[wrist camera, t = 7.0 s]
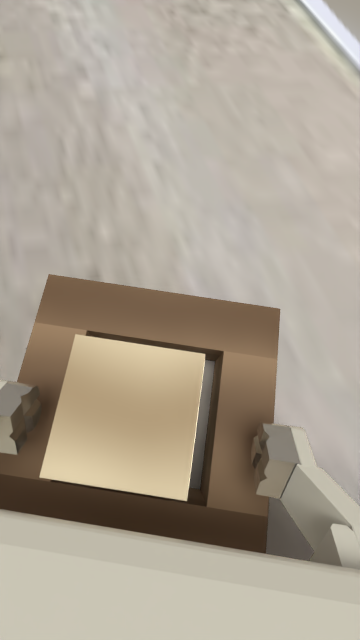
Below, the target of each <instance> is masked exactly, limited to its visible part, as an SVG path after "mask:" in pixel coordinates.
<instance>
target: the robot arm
mask: <svg viewBox="0 0 360 640" xmlns="http://www.w3.org/2000/svg"><path fill="white" fill-rule="evenodd" d="M39 395H40V392H39V387H37V386H34V385H29V384H23V383H18V382H13V381H6V380H0V453H8V454H15V455H17V454H18V453H19V451H20V450H21V448H22V447H23V445H24V444H25V442H26V441H27V433H28V432H30V431H32V430H33V429H34V428H35V427H36V425H37V424H38V421H39V419H40V416H41V409H42V408H41V403H40V402H39V401H38V399H37V398H38V396H39ZM257 433H258V435H257V436H256V437H254V439H253V443H252V448H251V462H252V465H253V467H254V468H255V469H256V470H255V473H254V476H253V478H254V485H255V493H256V494H258V495H263V496H268V497H273V498H278V499H280V501H281V502H282V504H283V505H284V507H285V508H286V510H287V511H288V513H289V514H290V516H291V517H292V519H293V520H294V522H295V523H296V525H297V526H298V528H299V529H300V531H301V532H302V534H303V535H304V537H305V538H306V540H307V542H308V543H309V545H310V546H311V548H312V549H313V551H314V554H313V555H312V557H311V558H310V560H309V561H305V560H299V559H293V558H288V557H282V556H276V555H270V554H264V553H258V552H252V551H246V550H240V549H234V548H228V547H222V546H217V545H211V544H205V543H199V542H193V541H187V540H181V539H175V538H169V537H163V536H157V535H151V534H145V533H139V532H133V531H127V530H121V529H115V528H110V527H104V526H98V525H92V524H86V523H80V522H74V521H68V520H62V519H56V518H50V517H45V516H39V515H33V514H27V513H21V512H15V511H9V510H3V509H0V640H360V506H359V505H358V504H357V503H356V502H355V501H354V500H353V499H352V498H351V497H350V496H349V495H348V494H347V493H346V492H345V491H344V490H343V489H342V488H341V487H340V486H339V485H338V484H337V483H336V482H335V481H334V480H333V479H332V478H331V477H330V476H329V475H328V474H327V473H326V472H325V471H324V470H323V469H322V468H318V467H317V464H316V462H315V459H314V456H313V453H312V450H311V447H310V444H309V441H308V438H307V435H306V432H305V430H304V429H303V428H301V427H294V426H287V425H280V424H274V423H267V422H260V423H259V425H258V427H257Z"/></svg>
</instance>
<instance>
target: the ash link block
mask: <svg viewBox="0 0 360 640" xmlns="http://www.w3.org/2000/svg"><path fill="white" fill-rule="evenodd" d="M204 363H205V354H202V353H195V352H189V351H182V350H176V349H169V348H162V347H156V346H149V345H143V344H136V343H130V342H123V341H117V340H110V339H103V338H97V337H90V336H84V335H77V334H75V338H74V342H73V346H72V350H71V354H70V358H69V362H68V366H67V370H66V374H65V378H64V382H63V386H62V390H61V394H60V397H59V401H58V405H57V409H56V413H55V417H54V421H53V425H52V429H51V433H50V437H49V441H48V445H47V449H46V453H45V457H44V461H43V465H42V468H41V472H40V476H39V477H40V478H46V479H52V480H59V481H65V482H71V483H77V484H84V485H90V486H96V487H102V488H109V489H115V490H121V491H127V492H134V493H140V494H146V495H152V496H159V497H165V498H171V499H177V500H184V501H187V497H188V490H189V482H190V474H191V466H192V458H193V450H194V442H195V434H196V426H197V418H198V410H199V403H200V395H201V387H202V379H203V371H204Z"/></svg>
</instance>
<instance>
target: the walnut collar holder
mask: <svg viewBox="0 0 360 640" xmlns="http://www.w3.org/2000/svg"><path fill="white" fill-rule="evenodd" d="M279 321H280V309H278V308H271V307H265V306H258V305H251V304H244V303H238V302H231V301H224V300H218V299H211V298H204V297H198V296H191V295H184V294H178V293H171V292H164V291H157V290H151V289H144V288H137V287H131V286H124V285H117V284H111V283H104V282H97V281H90V280H84V279H77V278H70V277H64V276H57V275H50V274H49V275H48V279H47V282H46V286H45V289H44V292H43V296H42V299H41V302H40V306H39V309H38V313H37V316H36V319H35V323H34V326H33V329H32V333H31V336H30V340H29V343H28V346H27V350H26V353H25V357H24V360H23V363H22V367H21V370H20V373H19V377H18V380H17V382H18V383H23V384H29V385H34V386H37V387H39V392H40V395H39V396H38V398H37V399H38V401H39V402H40V403H41V408H42V409H41V416H40V419H39V421H38V424H37V425H36V427H35V428H34V429H33V430H32V431H30V432H28V433H27V441H26V442H25V444H24V445H23V447H22V448H21V450H20V451H19V453H18V454H17V455H15V454H8V453H0V509H3V510H9V511H15V512H21V513H27V514H33V515H39V516H45V517H50V518H56V519H62V520H68V521H74V522H80V523H86V524H92V525H98V526H104V527H110V528H115V529H121V530H127V531H133V532H139V533H145V534H151V535H157V536H163V537H169V538H175V539H181V540H187V541H193V542H199V543H205V544H211V545H217V546H222V547H228V548H234V549H240V550H246V551H252V552H258V553H264V554H266V541H267V524H268V507H269V497H268V496H263V495H258V494H256V493H255V485H254V478H253V476H254V473H255V470H256V469H255V468H254V467H253V465H252V462H251V448H252V443H253V439H254V437H256V436H257V435H258V433H257V427H258V425H259V423H260V422H267V423H274V406H275V389H276V372H277V355H278V338H279ZM75 334H77V335H84V336H90V337H97V338H103V339H110V340H117V341H123V342H130V343H136V344H143V345H149V346H156V347H162V348H169V349H176V350H182V351H189V352H195V353H202V354H205V360H210V361H215V368H214V376H213V385H212V393H211V402H210V410H209V419H208V428H207V436H206V445H205V453H204V462H203V470H202V479H201V487H200V489H194V488H189V490H188V497H187V501H184V500H177V499H171V498H165V497H159V496H152V495H146V494H140V493H134V492H127V491H121V490H115V489H109V488H102V487H96V486H90V485H84V484H77V483H71V482H65V481H59V480H52V479H46V478H40V477H39V476H40V472H41V468H42V465H43V461H44V457H45V453H46V449H47V445H48V441H49V437H50V433H51V429H52V425H53V421H54V417H55V413H56V409H57V405H58V401H59V397H60V394H61V390H62V386H63V382H64V378H65V374H66V370H67V366H68V362H69V358H70V354H71V350H72V346H73V342H74V338H75Z"/></svg>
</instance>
